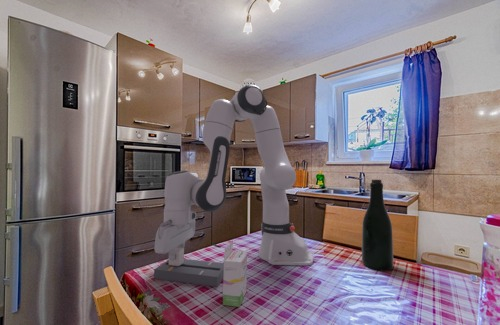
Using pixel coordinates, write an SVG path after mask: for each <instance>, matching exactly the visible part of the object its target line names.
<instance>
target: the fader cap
mask: <svg viewBox="0 0 500 325" xmlns="http://www.w3.org/2000/svg"><path fill="white" fill-rule="evenodd" d="M174 252H175V254H176V259H175V260H174V261H170V260H169V259H168V260H169V265H174V266H180V265H181V264H182V263H184V259H185V258H184V257H185V247H184V248H178V246H177V247H175V251H174Z"/></svg>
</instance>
